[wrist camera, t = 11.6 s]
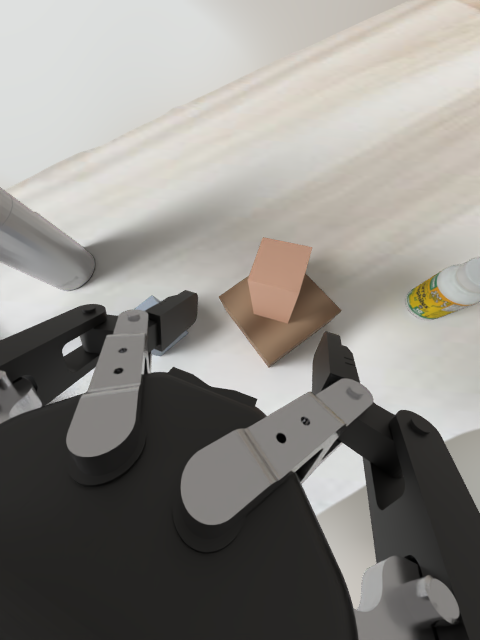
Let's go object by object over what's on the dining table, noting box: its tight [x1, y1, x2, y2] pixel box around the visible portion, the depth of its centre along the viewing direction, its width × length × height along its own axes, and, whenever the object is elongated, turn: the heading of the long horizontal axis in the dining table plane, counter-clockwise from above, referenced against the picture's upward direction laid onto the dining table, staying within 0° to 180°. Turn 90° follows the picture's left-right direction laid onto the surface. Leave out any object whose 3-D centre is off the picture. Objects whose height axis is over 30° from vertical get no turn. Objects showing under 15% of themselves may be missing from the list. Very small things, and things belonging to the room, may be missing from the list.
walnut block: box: [219, 274, 341, 367], centre depth 31 cm, size 12×12×6 cm
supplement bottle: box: [405, 257, 480, 320], centre depth 27 cm, size 5×5×10 cm
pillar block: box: [248, 237, 312, 324], centre depth 24 cm, size 5×5×10 cm
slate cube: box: [134, 296, 188, 356], centre depth 32 cm, size 6×6×6 cm
